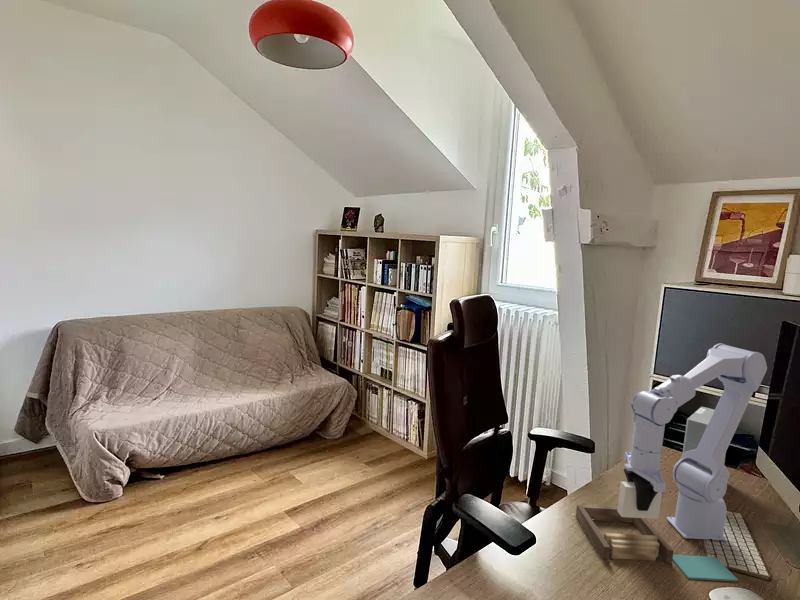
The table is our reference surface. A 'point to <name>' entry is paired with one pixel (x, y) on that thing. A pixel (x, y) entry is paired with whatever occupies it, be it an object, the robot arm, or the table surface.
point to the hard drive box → (697, 430)
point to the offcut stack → (632, 546)
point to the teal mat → (703, 568)
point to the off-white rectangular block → (629, 506)
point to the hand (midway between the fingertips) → (639, 506)
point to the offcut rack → (611, 514)
